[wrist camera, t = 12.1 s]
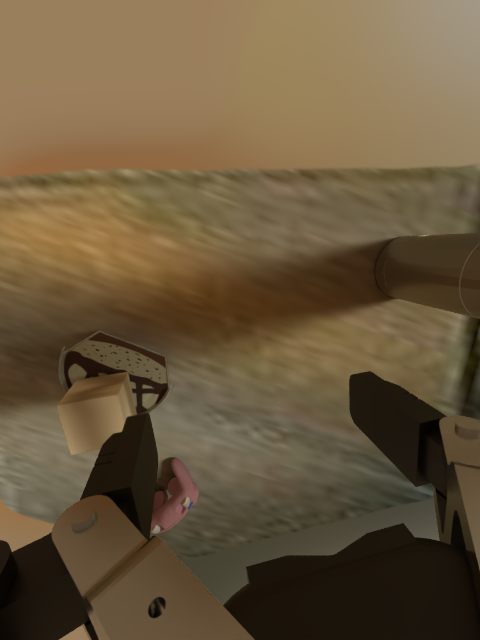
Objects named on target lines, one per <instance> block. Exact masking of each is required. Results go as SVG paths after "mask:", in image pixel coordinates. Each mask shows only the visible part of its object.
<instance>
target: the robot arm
mask: <svg viewBox="0 0 480 640" xmlns="http://www.w3.org/2000/svg"><path fill="white" fill-rule="evenodd" d="M375 277H376V281H377V284H378V286H379V288H380V289H381V290H382V291H383V292H384V293H385V294H386V295H388V296H390V297H393V298H397V299H401V300H405V301H409V302H413V303H417V304H421V305H425V306H430V307H434V308H438V309H442V310H446V311H450V312H454V313H458V314H463V315H467V316H471V317H475V318H479V319H480V233H466V234H444V235H420V236H403V237H399V238H396V239H394V240H393V241H391V242H390V243H388V244H387V245H386V246H385V247H384V249H383V250H382V251H381V253H380V255H379V257H378V259H377V262H376V267H375ZM349 395H350V414H351V417H352V419H353V421H354V423H355V424H356V425H357V427H358V428H359V429H360V430H361V431H362V432H363V433H364V434H365V435H366V436H367V437H368V438H369V439H370V440H371V441H372V442H373V443H374V444H375V445H376V446H377V447H378V448H379V449H380V450H381V451H382V452H383V453H384V454H385V456H386V457H387V458H388V459H389V460H390V461H391V462H392V463H393V464H394V465H395V466H396V467H397V468H398V469H399V470H400V471H401V472H402V473H403V474H404V475H405V476H406V477H407V478H408V479H409V480H410V481H411V482H412V483H413V484H414V486H415V487H417V486H421V485H425V484H429V483H431V484H432V485H433V486H434V502H435V510H436V517H437V524H438V532H439V539H440V541H436V540H432V539H426V538H415V537H414V536H413V535H412V533H411V532H410V531H409V530H408V528H407V527H406V526H405V525H404V524H403V523H402V524H399V525H395V526H391V527H388V528H384V529H381V530H377V531H373V532H370V533H367V534H365V535H364V536H362V537H361V538H359V539H358V540H356V541H355V542H353V543H352V544H350V545H349V546H347V547H346V548H344V549H343V550H341V551H340V552H338V553H337V554H335V555H329V556H284V557H280V558H277V559H273V560H269V561H266V562H262V563H259V564H255V565H252V566H248V567H246V570H247V577H248V584H247V585H246V586H244V587H243V588H241V589H240V590H239V591H238V592H236V593H235V594H234V595H233V596H232V597H231V598H230V599H229V600H228V601H227V602H226V603H225V604H224V605H222V604H221V603H220V602H219V601H218V600H217V599H216V598H215V597H214V596H213V595H212V594H211V593H210V591H209V590H208V589H207V588H206V587H205V586H204V585H203V584H202V583H201V582H200V581H199V580H198V579H197V578H196V577H195V576H194V575H193V573H192V572H191V571H190V570H189V569H188V568H187V567H186V566H185V565H184V564H183V563H182V562H181V561H180V560H179V558H178V557H177V556H176V555H175V554H174V553H173V552H172V551H171V550H170V549H169V548H168V547H167V546H166V544H165V543H164V542H163V541H162V540H161V539H159V538H158V537H157V536H153V537H151V538H150V531H151V522H152V514H153V505H154V496H155V488H156V479H157V471H158V453H157V447H156V442H155V438H154V433H153V428H152V423H151V419H150V415H149V413H144V414H139V415H133V416H128V417H127V418H126V421H125V424H124V427H123V430H122V432H119V433H114V434H112V435H111V436H110V437H109V438H108V439H107V440H106V441H105V442H104V444H103V445H102V447H101V450H100V452H99V455H98V458H97V460H96V462H95V466H94V467H93V469H92V472H91V474H90V477H89V479H88V482H87V484H86V487H85V489H84V491H83V494H82V496H81V499H80V501H78V502H76V503H75V504H73V505H72V506H70V507H69V508H68V509H67V510H66V511H64V512H63V513H62V514H61V516H60V517H59V518H58V519H57V521H56V523H55V524H54V526H53V529H52V532H51V533H50V534H48V535H46V536H44V537H43V538H41V539H39V540H37V541H34V542H32V543H30V544H28V545H26V546H24V547H22V548H20V549H18V550H16V551H14V552H12V551H11V549H10V546H9V544H8V543H7V542H5V541H1V540H0V640H59V639H60V638H62V637H63V636H65V635H67V634H68V633H70V632H71V631H73V630H75V629H76V628H78V627H79V626H81V625H82V626H83V628H84V630H85V632H86V634H87V636H88V638H89V640H480V421H478V420H476V419H472V418H469V417H464V416H445V415H444V414H442V413H441V412H439V411H438V410H436V409H435V408H433V407H432V406H430V405H428V404H427V403H425V402H424V401H422V400H421V399H418V397H416V396H414V395H413V394H410V393H409V392H408V391H407V390H405V389H404V388H402V387H401V386H399V385H396V384H393V383H391V382H388V381H384V380H383V379H381V378H380V377H378V376H377V375H375V374H374V373H372V372H370V371H368V372H363V373H358V374H353V375H351V376H350V379H349Z"/></svg>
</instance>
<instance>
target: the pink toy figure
mask: <svg viewBox="0 0 480 640" xmlns="http://www.w3.org/2000/svg"><path fill="white" fill-rule="evenodd" d="M171 467H172V470H173V472H174V474H175V476H176V477H174V478H172V479H171V480H170V481H169V483H168V492H169V493H170V494H171V495H173V496H172V497H171V498H170V499H169V500H168V495H167V493H166V492H164V491H157V492H156V493H155V496H154V505H153V514H152V522H151V531H150V533H152V534H159V533H161V532H164V531H166V530H168V529H170V528H172V527H173V526H174V525H176V524H177V523H178V522H179V521H180V520H181V519H182V518H183V517H184V516H185V515H186V513H187V512H188V510H189V509H190V508H191V507H192V506H193V505H194V504H195V503H196V501H197V499H198V494H199V491H198V487H197V485H196V484H195V483H194V481H193V479H192V477H191V475H190V473H189V472H188V470H187V468H186V467H185V466H184V464H183V463H182V462H181V461H180V460H179V459H177V458H173V459H172V460H171Z"/></svg>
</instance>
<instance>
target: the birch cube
mask: <svg viewBox="0 0 480 640" xmlns="http://www.w3.org/2000/svg"><path fill="white" fill-rule="evenodd" d="M57 408H58V412H59V415H60V419H61V422H62V426H63V429H64V432H65V436H66V439H67V443H68V446H69V449H70V453H71V455H73V454H78V453H83V452H88V451H94V450H99V449H101V447H102V445H103V444H104V442H105V441H106V440H107V439H108V438H109V437H110V436H111V435H112V434H114V433H119V432H122V430H123V427H124V424H125V421H126V418H127V417H128V416H133V415H137V412H136V407H135V402H134V398H133V393H132V388H131V384H130V379H129V374H128V372H123V373H117V374H111V375H105V376H98V377H92V378H86V379H80V380H76V382H75V383H74V384H73V385H72V387H71V388H70V389H69V390H68V392H67V393H66V394H65V395H64V397H63V398H62V399H61V401H60V402H59V403H58V404H57Z"/></svg>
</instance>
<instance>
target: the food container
mask: <svg viewBox="0 0 480 640" xmlns="http://www.w3.org/2000/svg"><path fill="white" fill-rule="evenodd" d="M64 349H65V346H63V348H62V351H61V354H60V357H59V364H58V372H59V379H60V383H61V386H62V389H63V391H64V393H65V394H66V393H67V392H68V390H69V389H70V388H71V387H72V385H73V384H74V383H75V382H76V380H80V379H86V378H92V377H98V376H105V375H111V374H117V373H123V372H128V374H129V379H130V384H131V388H132V393H133V398H134V402H135V407H136V412H137V415H139V414H144V413H150V412H152V411H153V410H155V409H156V408H158V407H159V406H160V405H161V404H162V403H163V402H164V401H165V400H166V398H167V397H168V396H169V394H170V393H171V391H172V389H173V387H174V385H173V386H172V388H170V384H169V375H168V366H167V357H166V356H165V355H163V354H160V353H157V352H155V351H152V350H150V349H147V348H144V347H142V346H139V345H136V344H134V343H131V342H129V341H126V340H123V339H121V338H118V337H115V336H113V335H110V334H108V333H105V332H102V331H100V330H99V331H97V332H95V333H94V334H92V335H90V336H89V337H87V338H86V339H84V340H82V341H81V342H79V343H77V344H76V345H74V346H72V347H71V348H69V349H68V350H66V351H64Z"/></svg>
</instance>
